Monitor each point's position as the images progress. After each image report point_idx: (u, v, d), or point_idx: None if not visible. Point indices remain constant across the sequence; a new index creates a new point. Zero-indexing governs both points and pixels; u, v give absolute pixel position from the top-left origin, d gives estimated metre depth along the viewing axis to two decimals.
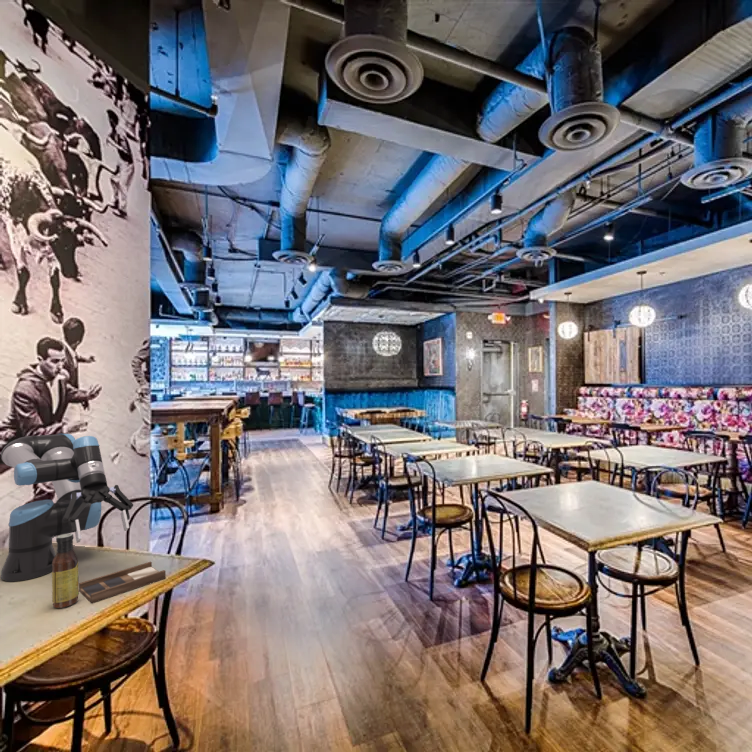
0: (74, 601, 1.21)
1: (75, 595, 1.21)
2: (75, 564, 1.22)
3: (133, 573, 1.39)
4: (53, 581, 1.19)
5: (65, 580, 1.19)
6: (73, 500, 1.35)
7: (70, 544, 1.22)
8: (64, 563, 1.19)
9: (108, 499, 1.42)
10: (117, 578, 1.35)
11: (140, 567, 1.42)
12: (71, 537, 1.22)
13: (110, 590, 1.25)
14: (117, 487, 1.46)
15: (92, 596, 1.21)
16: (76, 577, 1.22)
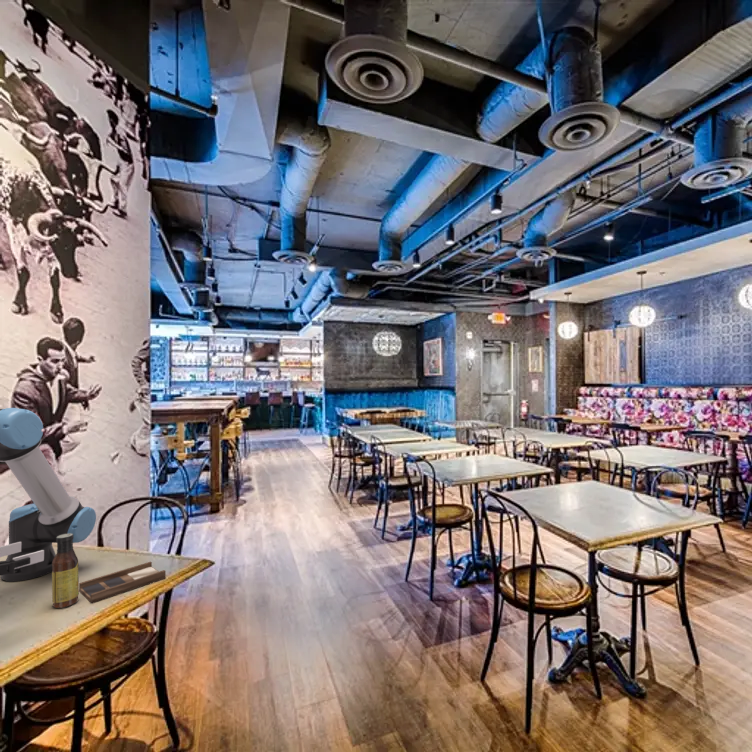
0: (74, 601, 1.21)
1: (75, 595, 1.21)
2: (75, 564, 1.22)
3: (133, 573, 1.39)
4: (53, 581, 1.19)
5: (65, 580, 1.19)
6: None
7: (70, 544, 1.22)
8: (64, 562, 1.19)
9: None
10: (117, 578, 1.35)
11: (140, 567, 1.42)
12: (71, 537, 1.22)
13: (110, 590, 1.25)
14: None
15: (92, 596, 1.21)
16: (76, 577, 1.22)
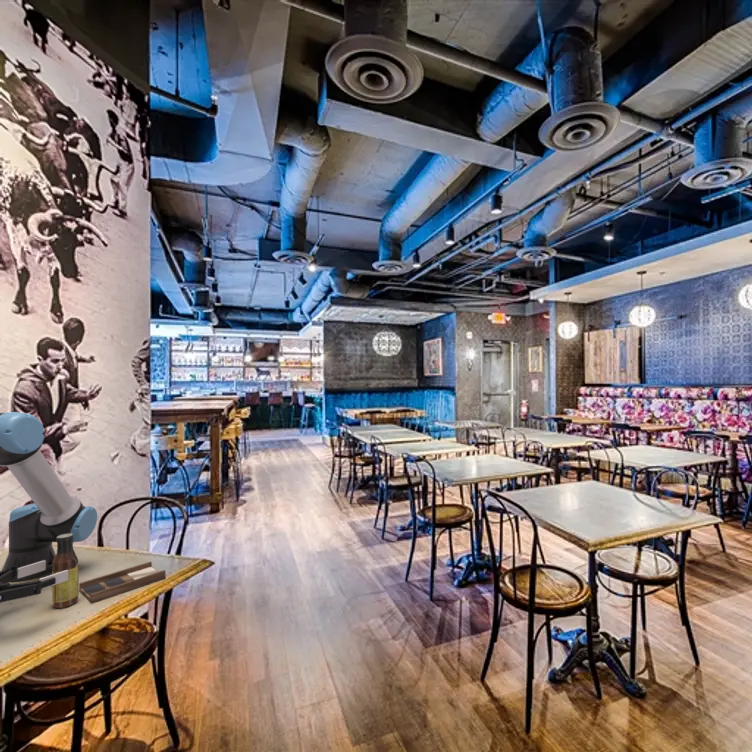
0: (74, 601, 1.21)
1: (75, 595, 1.21)
2: (75, 564, 1.22)
3: (133, 573, 1.39)
4: None
5: None
6: None
7: (70, 544, 1.22)
8: (64, 562, 1.19)
9: None
10: (117, 578, 1.35)
11: (140, 567, 1.42)
12: (71, 537, 1.22)
13: (110, 590, 1.25)
14: None
15: (92, 596, 1.21)
16: (76, 577, 1.22)
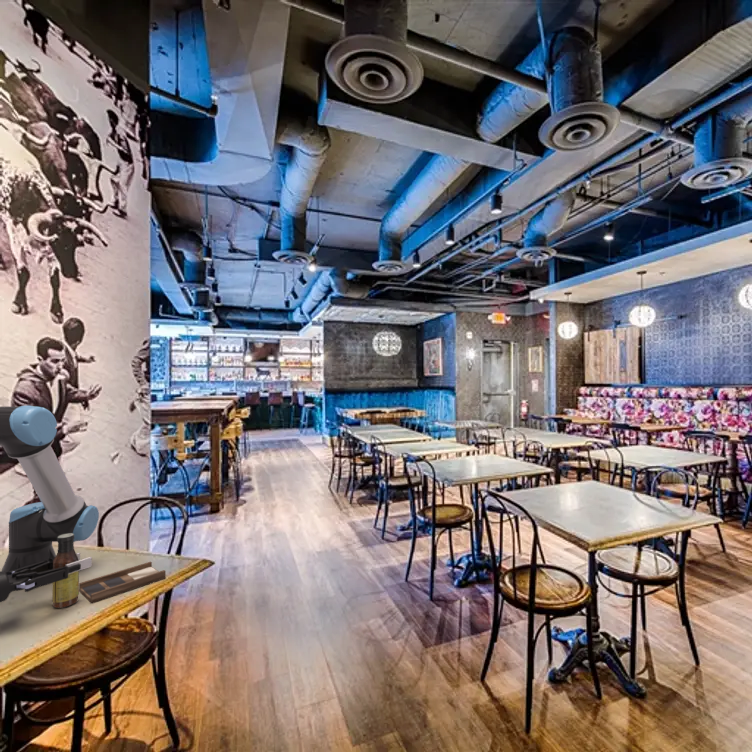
0: (74, 601, 1.21)
1: (75, 595, 1.21)
2: None
3: (133, 573, 1.39)
4: None
5: (65, 580, 1.19)
6: None
7: (71, 544, 1.22)
8: (65, 563, 1.19)
9: None
10: (117, 578, 1.35)
11: (140, 567, 1.42)
12: (72, 537, 1.22)
13: (110, 590, 1.25)
14: None
15: (92, 596, 1.21)
16: (76, 577, 1.22)
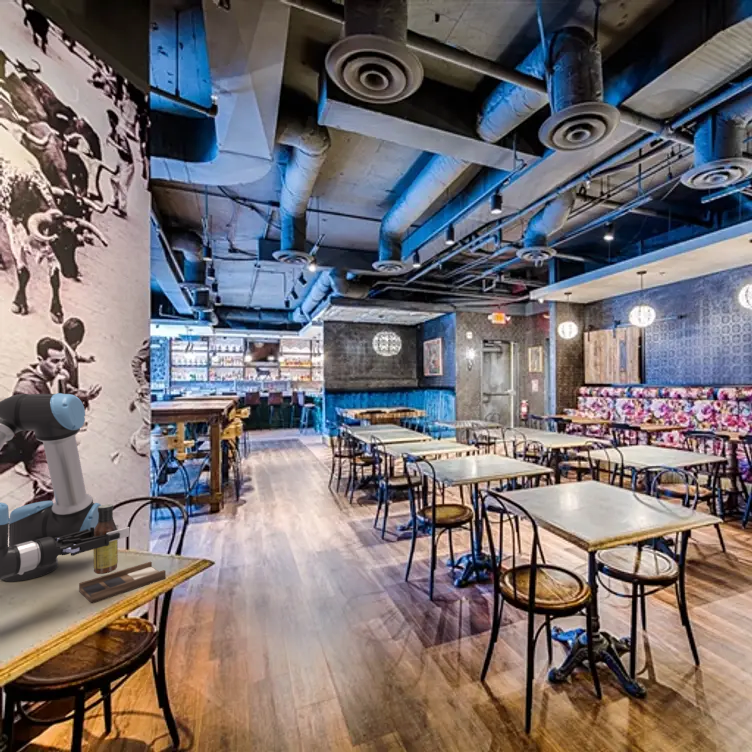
0: (114, 568, 1.27)
1: (114, 562, 1.27)
2: None
3: (133, 573, 1.39)
4: None
5: (106, 548, 1.25)
6: None
7: (110, 514, 1.28)
8: (105, 531, 1.26)
9: None
10: (117, 578, 1.35)
11: (140, 567, 1.42)
12: (111, 507, 1.28)
13: (110, 590, 1.25)
14: None
15: (92, 596, 1.21)
16: (115, 545, 1.28)
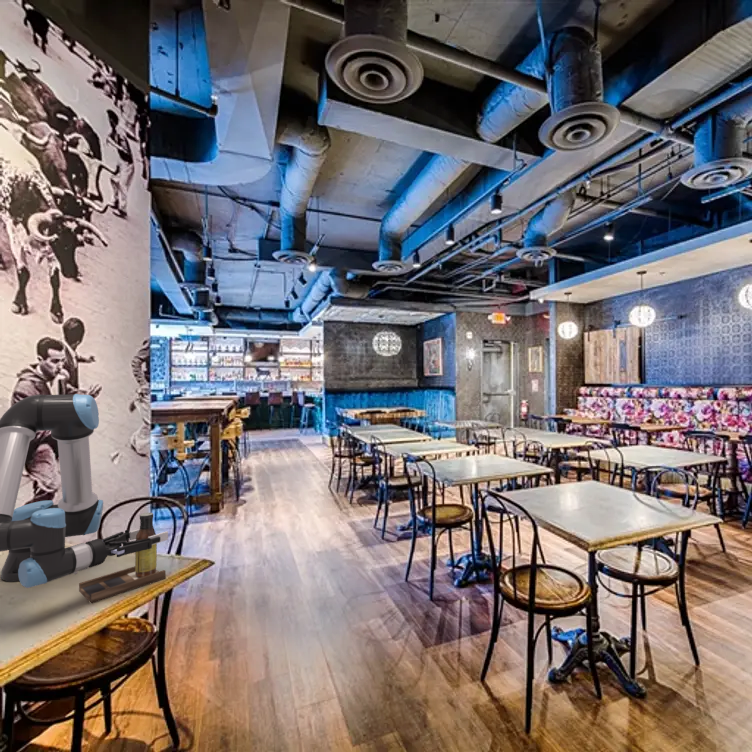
0: (153, 572, 1.38)
1: (154, 566, 1.38)
2: None
3: (133, 573, 1.39)
4: (137, 553, 1.36)
5: (147, 553, 1.36)
6: None
7: (151, 522, 1.39)
8: (147, 537, 1.36)
9: None
10: (117, 578, 1.35)
11: None
12: (152, 516, 1.39)
13: (110, 590, 1.25)
14: None
15: (92, 596, 1.21)
16: (155, 551, 1.39)
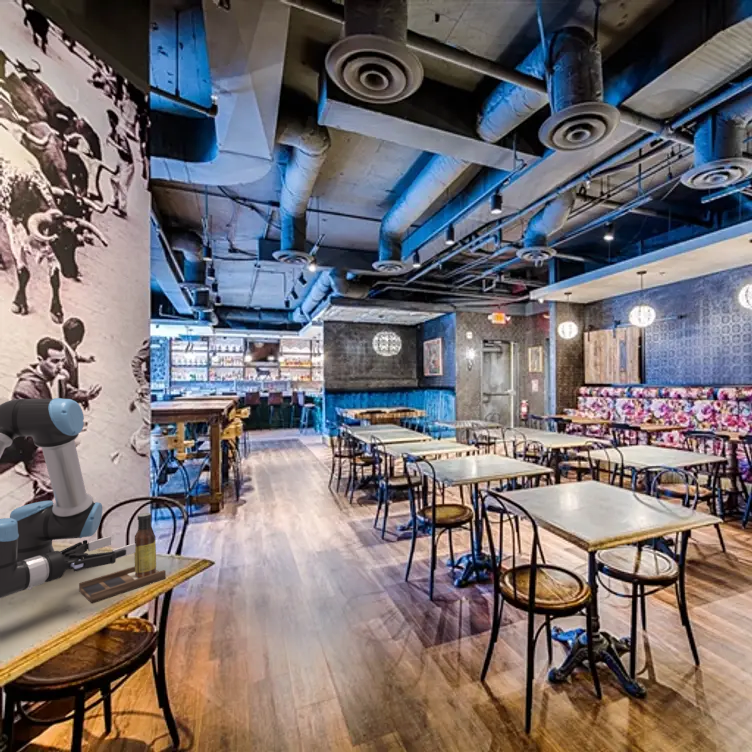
0: (153, 572, 1.38)
1: (154, 566, 1.38)
2: (153, 539, 1.38)
3: (133, 573, 1.39)
4: (136, 554, 1.36)
5: (146, 553, 1.36)
6: None
7: (149, 522, 1.39)
8: (145, 538, 1.36)
9: None
10: (117, 578, 1.35)
11: None
12: (150, 516, 1.39)
13: (110, 590, 1.25)
14: None
15: (92, 596, 1.21)
16: (154, 551, 1.39)
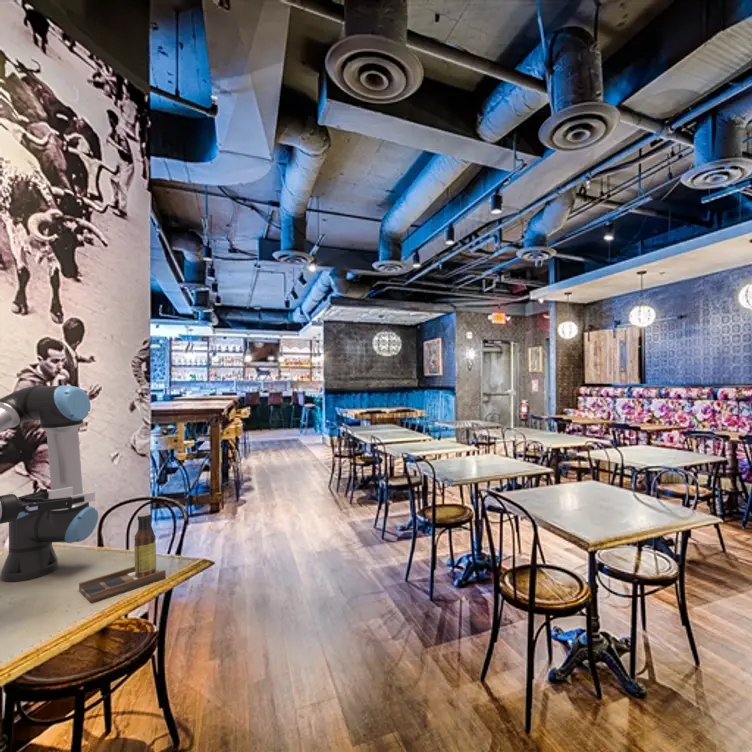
0: (153, 572, 1.38)
1: (154, 566, 1.38)
2: (153, 540, 1.38)
3: (133, 573, 1.39)
4: (136, 554, 1.36)
5: (146, 553, 1.36)
6: None
7: (149, 522, 1.38)
8: (145, 538, 1.36)
9: None
10: (117, 578, 1.35)
11: None
12: (150, 516, 1.39)
13: (110, 590, 1.25)
14: (33, 512, 1.14)
15: (92, 596, 1.21)
16: (154, 551, 1.39)
